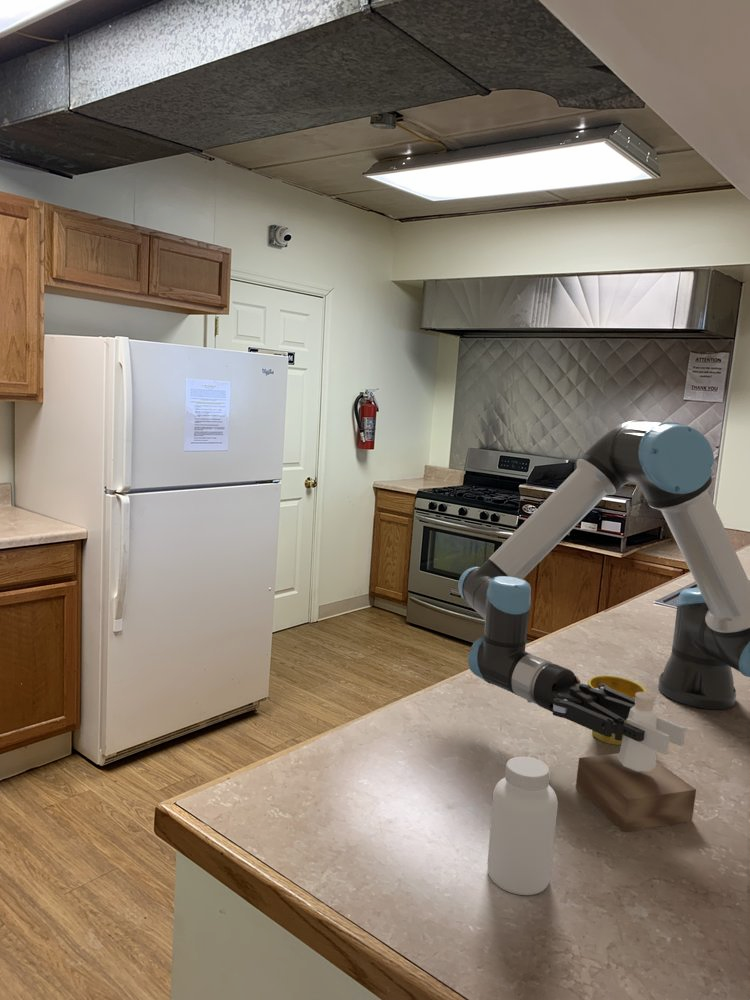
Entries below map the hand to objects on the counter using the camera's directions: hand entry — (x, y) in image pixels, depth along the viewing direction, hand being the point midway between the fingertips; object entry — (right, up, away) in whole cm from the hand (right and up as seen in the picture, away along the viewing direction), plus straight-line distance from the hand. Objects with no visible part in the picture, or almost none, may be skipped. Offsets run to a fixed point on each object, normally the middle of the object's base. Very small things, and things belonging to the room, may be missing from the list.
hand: (675, 740), depth 106 cm
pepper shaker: (-4, -5, +5) cm, 8 cm away
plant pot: (0, -9, +28) cm, 30 cm away
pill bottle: (-25, -13, -13) cm, 31 cm away
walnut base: (-4, -12, +6) cm, 14 cm away
